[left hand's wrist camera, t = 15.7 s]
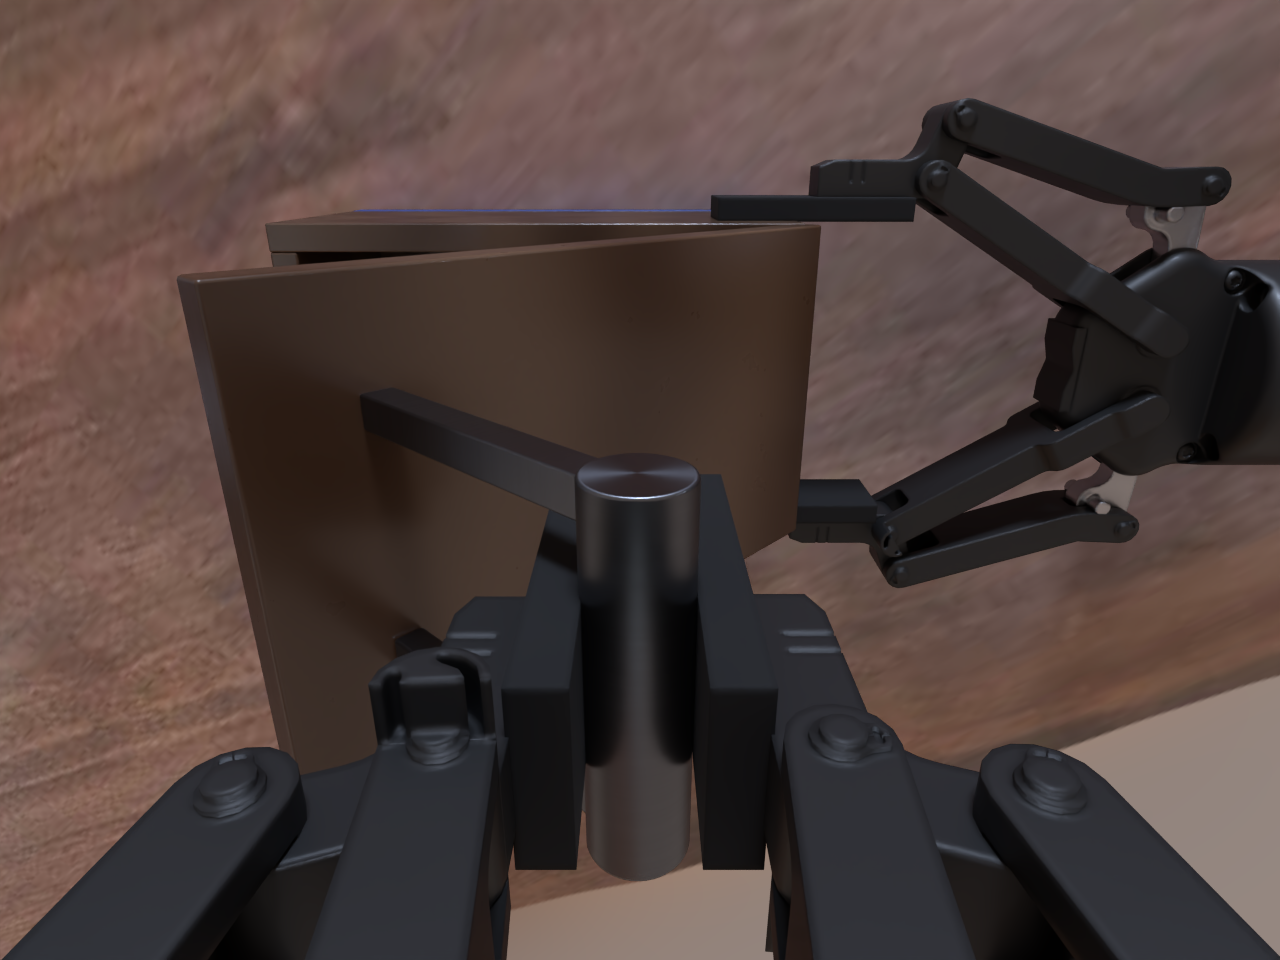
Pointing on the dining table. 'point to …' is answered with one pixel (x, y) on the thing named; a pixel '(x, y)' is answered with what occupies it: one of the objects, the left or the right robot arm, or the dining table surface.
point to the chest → (471, 231)
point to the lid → (506, 471)
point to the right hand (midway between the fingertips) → (708, 365)
